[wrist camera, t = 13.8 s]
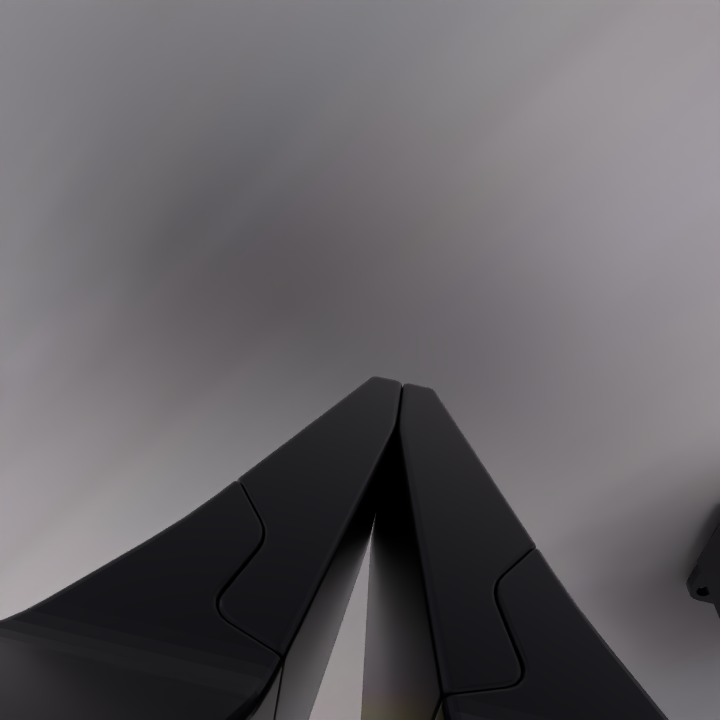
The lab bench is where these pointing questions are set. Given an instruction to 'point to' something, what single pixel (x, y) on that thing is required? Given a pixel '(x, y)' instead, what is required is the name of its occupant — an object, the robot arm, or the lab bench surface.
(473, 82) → the lab bench surface
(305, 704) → the robot arm
